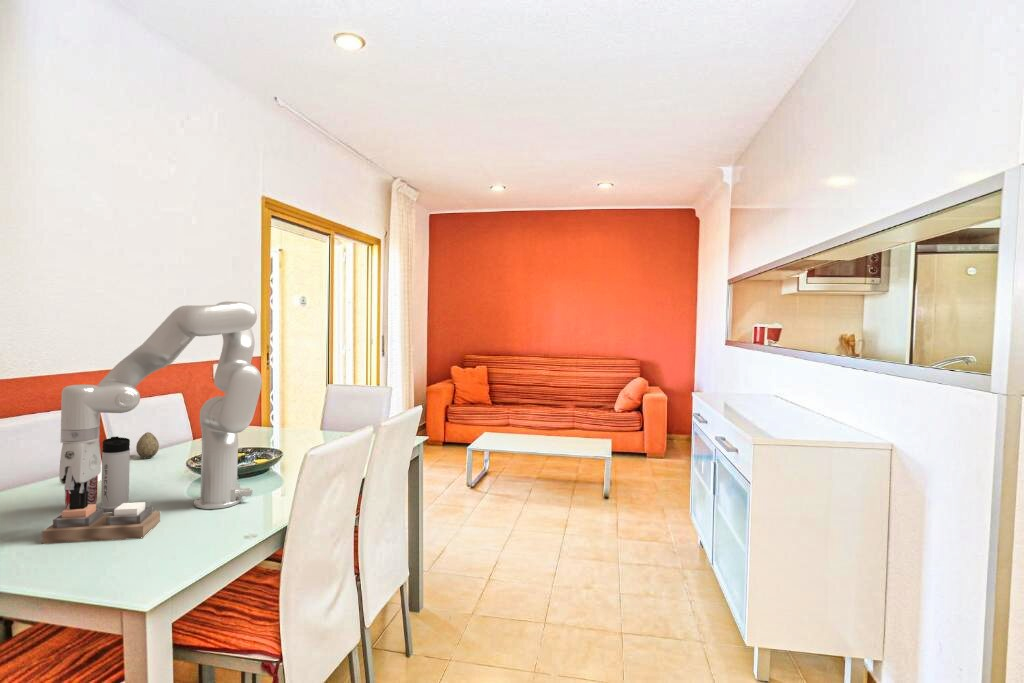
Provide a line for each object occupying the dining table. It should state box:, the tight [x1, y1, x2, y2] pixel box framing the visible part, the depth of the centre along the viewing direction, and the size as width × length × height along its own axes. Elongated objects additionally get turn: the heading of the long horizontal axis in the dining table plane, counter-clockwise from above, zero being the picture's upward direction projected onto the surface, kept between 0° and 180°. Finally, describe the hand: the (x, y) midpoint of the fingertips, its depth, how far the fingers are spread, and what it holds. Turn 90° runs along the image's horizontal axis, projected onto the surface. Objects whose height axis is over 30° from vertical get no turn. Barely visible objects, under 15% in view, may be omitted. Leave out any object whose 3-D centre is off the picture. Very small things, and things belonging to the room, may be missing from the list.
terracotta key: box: [61, 503, 97, 518], centre depth 133 cm, size 5×5×2 cm
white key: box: [114, 501, 146, 516], centre depth 136 cm, size 5×5×2 cm
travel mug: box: [100, 435, 131, 513], centre depth 150 cm, size 6×7×20 cm
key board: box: [41, 505, 161, 545], centre depth 134 cm, size 21×11×5 cm, turn 105°
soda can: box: [64, 475, 99, 509], centre depth 150 cm, size 7×7×12 cm
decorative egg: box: [135, 431, 160, 459], centre depth 204 cm, size 7×7×10 cm
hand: (78, 507), depth 133 cm, fingers closed
